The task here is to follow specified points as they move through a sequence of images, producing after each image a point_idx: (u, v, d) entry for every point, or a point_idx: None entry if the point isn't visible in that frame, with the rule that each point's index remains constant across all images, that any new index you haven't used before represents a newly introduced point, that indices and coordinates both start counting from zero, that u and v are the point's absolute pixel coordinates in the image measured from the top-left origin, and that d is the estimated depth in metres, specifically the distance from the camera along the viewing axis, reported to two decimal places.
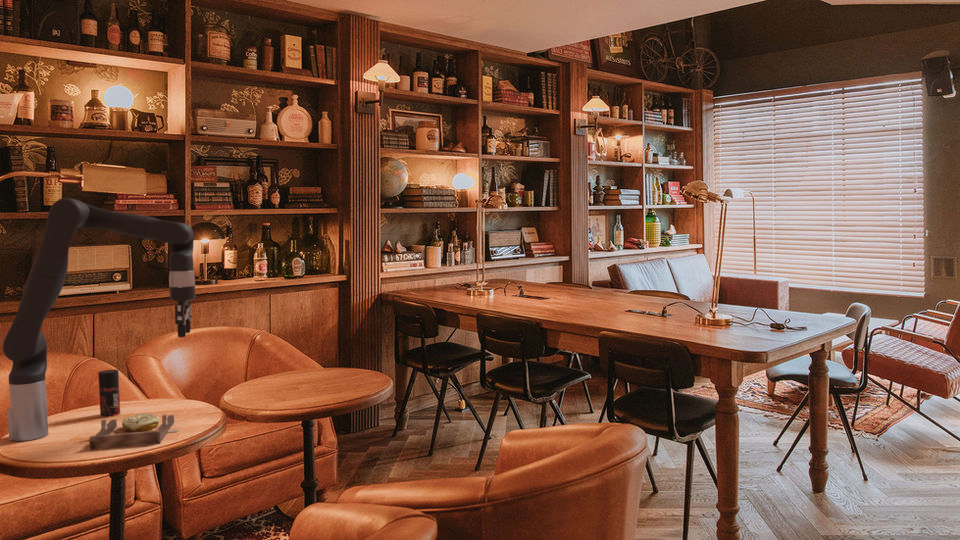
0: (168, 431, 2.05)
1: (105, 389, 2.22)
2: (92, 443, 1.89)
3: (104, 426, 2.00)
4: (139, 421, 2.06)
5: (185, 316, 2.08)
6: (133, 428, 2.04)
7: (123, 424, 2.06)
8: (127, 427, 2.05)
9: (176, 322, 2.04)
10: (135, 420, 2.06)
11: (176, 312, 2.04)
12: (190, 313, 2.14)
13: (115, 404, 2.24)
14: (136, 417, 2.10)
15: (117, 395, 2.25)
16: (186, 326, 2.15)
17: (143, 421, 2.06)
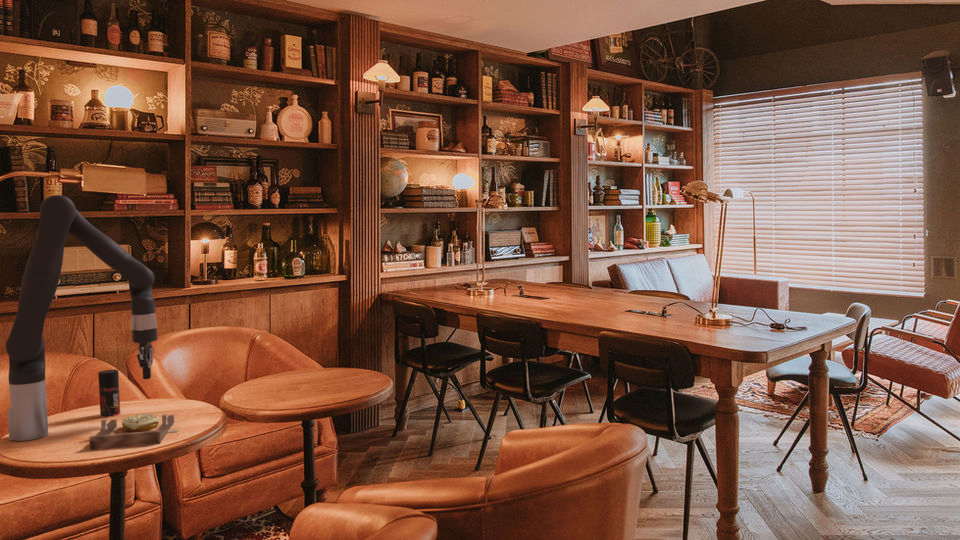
0: (168, 431, 2.05)
1: (105, 389, 2.22)
2: (92, 443, 1.89)
3: (104, 426, 2.00)
4: (139, 421, 2.06)
5: (149, 360, 2.18)
6: (133, 428, 2.04)
7: (123, 424, 2.06)
8: (127, 427, 2.05)
9: (141, 366, 2.16)
10: (135, 420, 2.06)
11: (139, 360, 2.14)
12: (152, 356, 2.20)
13: (115, 404, 2.24)
14: (136, 417, 2.10)
15: (117, 395, 2.25)
16: None
17: (143, 421, 2.06)
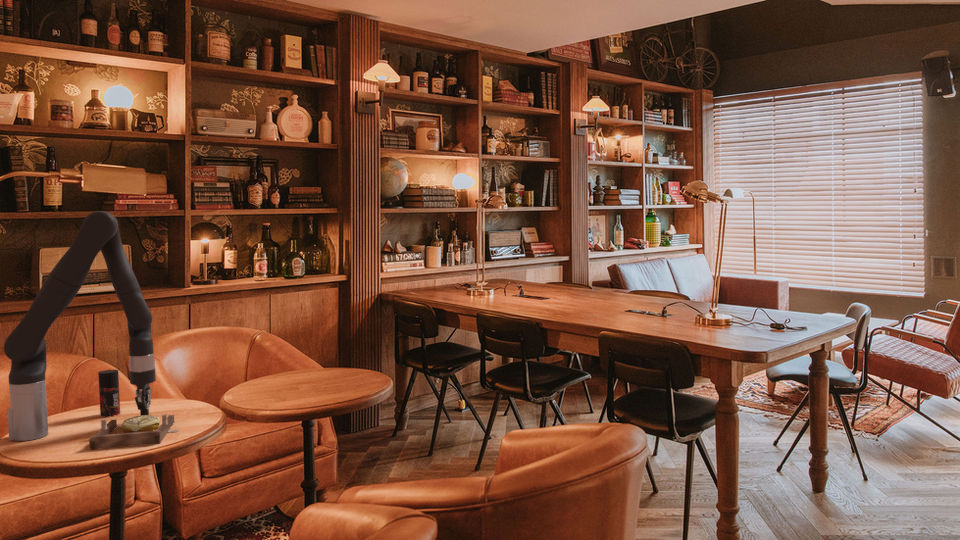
0: (168, 431, 2.05)
1: (105, 389, 2.22)
2: (92, 443, 1.89)
3: (104, 426, 2.00)
4: (140, 422, 2.04)
5: (147, 401, 2.13)
6: (134, 429, 2.03)
7: (124, 426, 2.04)
8: (128, 429, 2.03)
9: (139, 409, 2.11)
10: (136, 421, 2.05)
11: (137, 403, 2.09)
12: (150, 397, 2.15)
13: (115, 404, 2.24)
14: (136, 418, 2.09)
15: (117, 395, 2.25)
16: None
17: (144, 422, 2.05)
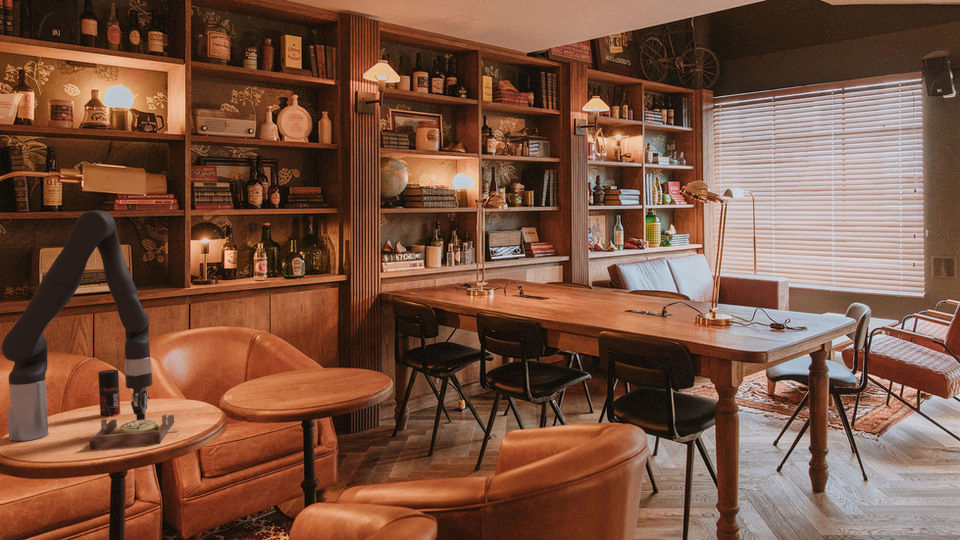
0: (168, 431, 2.05)
1: (105, 389, 2.22)
2: (92, 443, 1.89)
3: (104, 426, 2.00)
4: (140, 427, 1.99)
5: (143, 406, 2.08)
6: None
7: (122, 431, 1.99)
8: None
9: (135, 413, 2.06)
10: (135, 426, 2.00)
11: (133, 407, 2.04)
12: (146, 401, 2.10)
13: (115, 404, 2.24)
14: (134, 423, 2.03)
15: (117, 395, 2.25)
16: None
17: (144, 427, 2.00)
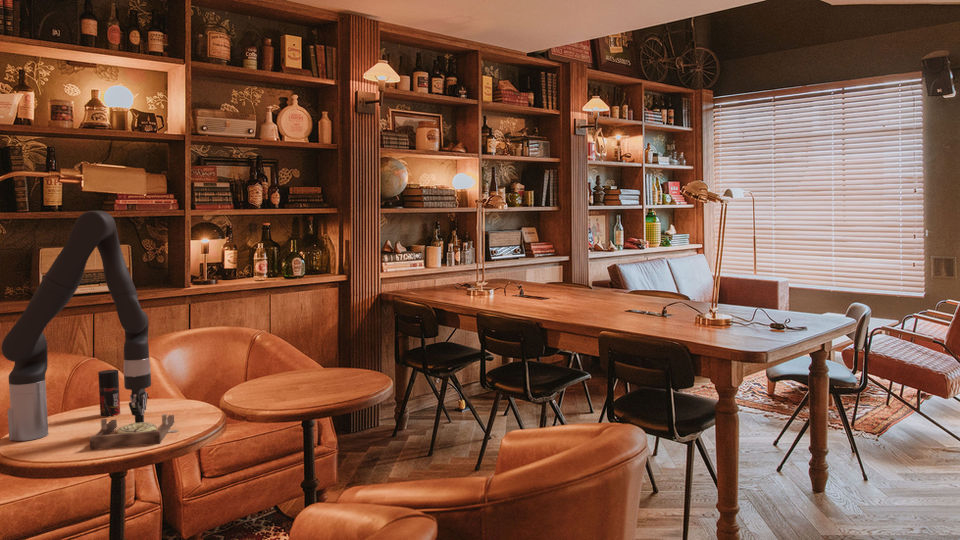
0: (168, 431, 2.05)
1: (105, 389, 2.22)
2: (92, 443, 1.89)
3: (104, 426, 2.00)
4: (137, 430, 1.96)
5: (141, 407, 2.07)
6: None
7: None
8: None
9: (133, 414, 2.05)
10: (132, 429, 1.97)
11: (131, 408, 2.03)
12: (145, 402, 2.09)
13: (115, 404, 2.24)
14: (131, 426, 2.00)
15: (117, 395, 2.25)
16: None
17: (141, 430, 1.97)
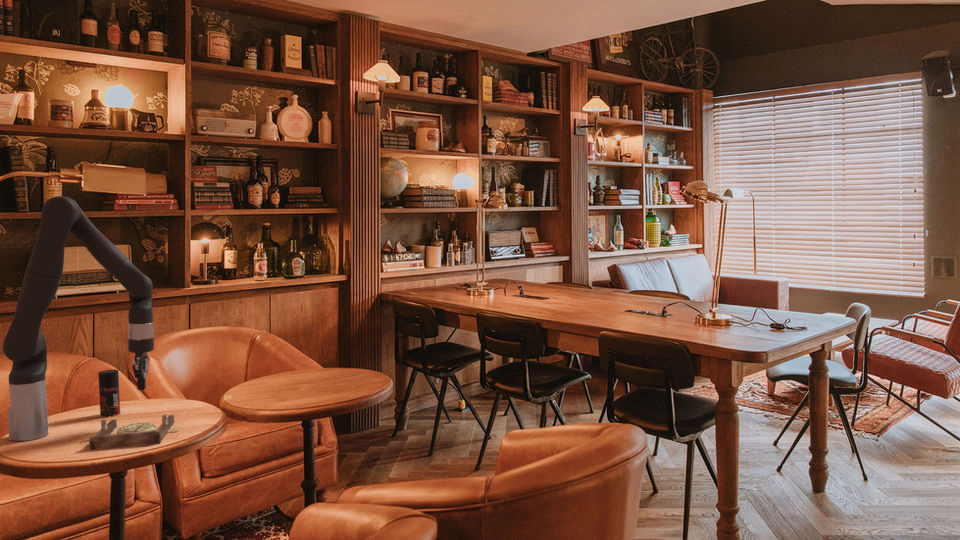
0: (168, 431, 2.05)
1: (105, 389, 2.22)
2: (92, 443, 1.89)
3: (104, 426, 2.00)
4: (137, 430, 1.96)
5: (144, 370, 2.12)
6: None
7: None
8: None
9: (136, 377, 2.10)
10: (132, 429, 1.97)
11: (134, 371, 2.08)
12: (147, 366, 2.14)
13: (115, 404, 2.24)
14: (131, 426, 2.00)
15: (117, 395, 2.25)
16: None
17: (141, 430, 1.97)
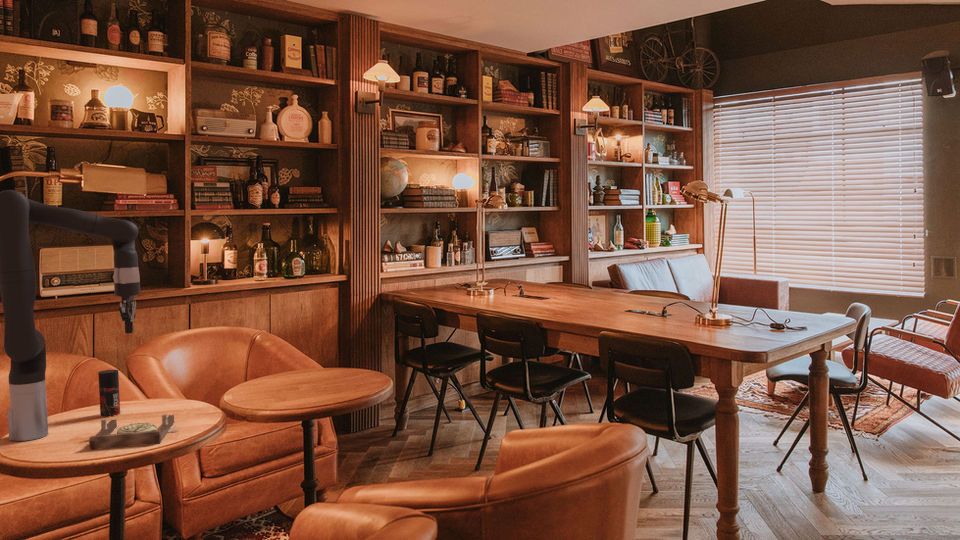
0: (168, 431, 2.05)
1: (105, 389, 2.22)
2: (92, 443, 1.89)
3: (104, 426, 2.00)
4: (137, 430, 1.96)
5: (131, 314, 2.17)
6: None
7: None
8: None
9: (123, 320, 2.15)
10: (132, 429, 1.97)
11: (121, 313, 2.13)
12: (134, 310, 2.19)
13: (115, 404, 2.24)
14: (131, 426, 2.00)
15: (117, 395, 2.25)
16: None
17: (141, 430, 1.97)
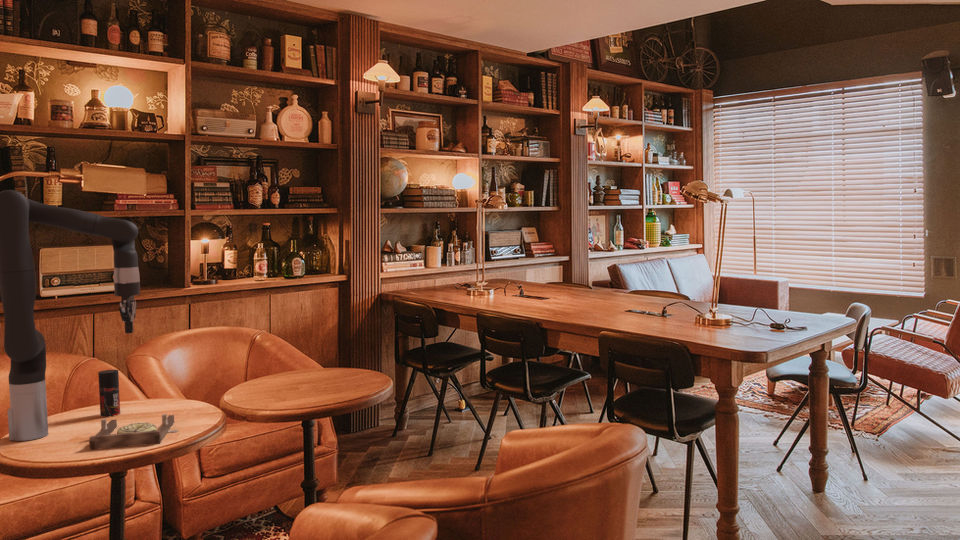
0: (168, 431, 2.05)
1: (105, 389, 2.22)
2: (92, 443, 1.89)
3: (104, 426, 2.00)
4: (137, 430, 1.96)
5: (131, 314, 2.17)
6: None
7: None
8: None
9: (123, 320, 2.15)
10: (132, 429, 1.97)
11: (121, 313, 2.13)
12: (134, 310, 2.19)
13: (115, 404, 2.24)
14: (131, 426, 2.00)
15: (117, 395, 2.25)
16: None
17: (141, 430, 1.97)
